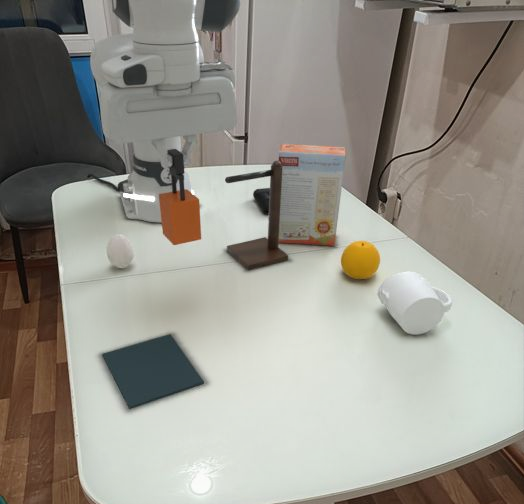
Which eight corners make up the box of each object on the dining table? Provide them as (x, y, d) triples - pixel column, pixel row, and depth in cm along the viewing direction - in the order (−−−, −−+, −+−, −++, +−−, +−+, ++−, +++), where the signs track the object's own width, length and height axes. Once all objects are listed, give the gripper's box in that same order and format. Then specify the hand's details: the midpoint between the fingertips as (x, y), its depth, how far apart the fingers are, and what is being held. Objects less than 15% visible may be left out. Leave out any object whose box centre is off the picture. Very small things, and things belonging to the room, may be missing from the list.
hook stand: (216, 253, 114) (213, 161, 101) (266, 241, 119) (269, 152, 106) (237, 273, 107) (237, 177, 94) (288, 260, 112) (295, 167, 100)
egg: (111, 275, 105) (106, 242, 100) (107, 263, 108) (102, 231, 104) (137, 271, 106) (133, 238, 102) (132, 259, 110) (128, 227, 105)
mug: (392, 337, 91) (401, 299, 86) (374, 308, 98) (381, 271, 93) (454, 331, 93) (466, 294, 88) (432, 303, 100) (442, 267, 95)
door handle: (342, 206, 131) (320, 180, 142) (268, 213, 126) (250, 185, 137) (340, 218, 133) (318, 191, 144) (267, 225, 128) (250, 197, 139)
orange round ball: (384, 275, 108) (390, 243, 104) (363, 288, 104) (369, 255, 99) (353, 261, 112) (358, 230, 108) (331, 274, 108) (336, 242, 103)
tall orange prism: (162, 233, 87) (153, 149, 79) (189, 228, 89) (183, 145, 81) (173, 245, 84) (165, 158, 75) (201, 239, 86) (196, 154, 77)
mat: (102, 355, 84) (102, 353, 84) (170, 335, 89) (170, 333, 89) (129, 408, 75) (129, 406, 75) (204, 383, 80) (204, 381, 80)
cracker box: (334, 235, 122) (345, 145, 109) (334, 247, 118) (346, 154, 105) (276, 231, 123) (280, 141, 110) (274, 242, 118) (278, 150, 105)
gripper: (224, 57, 77) (226, 151, 86) (89, 65, 69) (105, 169, 77) (244, 63, 73) (244, 162, 81) (102, 73, 65) (118, 182, 73)
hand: (176, 165), depth 79 cm, fingers closed on tall orange prism
